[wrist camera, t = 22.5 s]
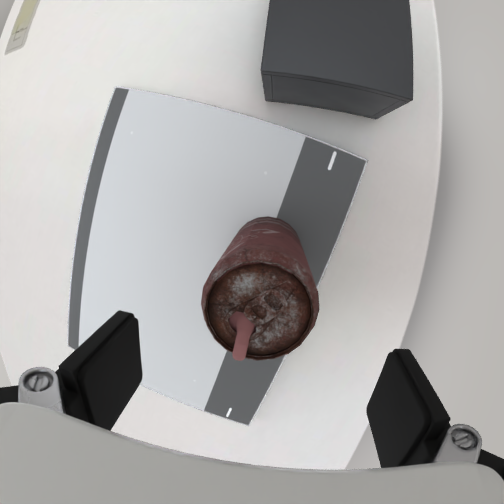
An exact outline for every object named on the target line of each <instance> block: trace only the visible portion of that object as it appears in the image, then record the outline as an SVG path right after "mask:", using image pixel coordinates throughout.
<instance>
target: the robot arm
mask: <svg viewBox="0 0 504 504" xmlns="http://www.w3.org/2000/svg"><path fill="white" fill-rule="evenodd" d="M142 377H143V373H142V363H141V351H140V338H139V323H138V319H137V318H135V316H134V314H133V313H129V312H125V311H121V310H119V311H117V312H116V313H115V314H114V315H113V316H112V317H111V318H109V319H108V320H107V321H106V322H105V323H104V324H103V325H102V326H101V327H100V328H98V329H97V330H96V331H95V332H94V333H93V334H92V335H91V336H90V337H89V338H88V339H87V340H86V341H84V342H83V343H82V344H81V345H80V346H79V347H78V348H77V349H76V350H75V351H74V352H73V353H72V354H71V355H70V356H69V357H68V358H66V359H65V360H64V361H63V362H62V363H61V364H60V365H59V369H58V370H57V371H56V372H54V371H53V370H51V369H49V368H45V367H35V368H31V369H29V370H27V371H25V372H24V373H23V374H22V375H21V377H20V379H19V385H18V386H11V387H2V388H0V504H504V459H502V458H500V457H497V456H496V455H493V454H491V453H489V452H487V451H484V450H482V449H481V446H482V439H481V436H480V434H479V433H478V431H476V430H475V429H474V428H473V427H470V426H469V425H465V424H456V425H453V426H452V427H451V426H450V424H449V421H450V417H449V415H448V414H447V412H446V410H445V408H444V406H443V404H442V403H441V401H440V399H439V397H438V396H437V394H436V392H435V391H434V389H433V387H432V385H431V384H430V382H429V380H428V379H427V377H426V375H425V374H424V372H423V370H422V369H421V367H420V366H419V364H418V362H417V361H416V359H415V358H414V356H413V355H412V353H411V351H410V350H409V349H394V350H393V352H390V353H389V354H388V356H387V359H386V361H385V364H384V366H383V369H382V372H381V374H380V377H379V379H378V382H377V384H376V386H375V389H374V391H373V394H372V396H371V398H370V401H369V403H368V405H367V416H368V420H369V423H370V427H371V430H372V434H373V438H374V441H375V445H376V449H377V453H378V457H379V461H380V465H381V468H373V469H352V470H316V469H294V468H280V467H269V466H260V465H251V464H244V463H237V462H230V461H224V460H219V459H213V458H208V457H203V456H198V455H193V454H189V453H184V452H180V451H176V450H172V449H168V448H164V447H160V446H157V445H153V444H150V443H146V442H143V441H140V440H136V439H133V438H130V437H127V436H124V435H121V434H118V433H115V432H112V431H110V430H111V429H112V427H113V426H114V424H115V422H116V421H117V419H118V418H119V416H120V415H121V413H122V411H123V410H124V408H125V407H126V405H127V404H128V402H129V400H130V399H131V397H132V396H133V394H134V393H135V391H136V389H137V388H138V386H139V385H140V383H141V381H142Z"/></svg>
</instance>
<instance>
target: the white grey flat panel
mask: <svg viewBox="0 0 504 504" xmlns="http://www.w3.org/2000/svg"><path fill="white" fill-rule="evenodd" d="M367 162H368V160H367V159H364V158H362V157H360V156H358V155H355V154H353V153H350V152H348V151H346V150H343V149H341V148H338V147H336V146H333V145H331V144H328V143H326V142H323V141H321V140H318V139H316V138H313V137H310V136H307V135H305V134H302V133H299V132H296V131H294V130H291V129H288V128H285V127H282V126H279V125H276V124H273V123H270V122H267V121H264V120H261V119H257V118H254V117H251V116H248V115H244V114H241V113H237V112H234V111H230V110H227V109H223V108H219V107H216V106H212V105H208V104H204V103H200V102H196V101H191V100H187V99H183V98H178V97H174V96H169V95H164V94H159V93H154V92H149V91H143V90H137V89H132V88H125V87H119V86H115V88H114V91H113V93H112V96H111V99H110V102H109V105H108V108H107V110H106V113H105V116H104V120H103V123H102V126H101V129H100V132H99V136H98V139H97V143H96V146H95V150H94V153H93V157H92V161H91V165H90V169H89V173H88V177H87V181H86V186H85V190H84V195H83V200H82V205H81V210H80V216H79V221H78V227H77V233H76V240H75V247H74V254H73V263H72V272H71V282H70V294H69V311H68V347H70V348H72V349H73V350H76V349H77V348H78V347H79V346H80V345H81V344H82V343H83V342H84V341H86V340H87V339H88V338H89V337H90V336H91V335H92V334H93V333H94V332H95V331H96V330H97V329H98V328H100V327H101V326H102V325H103V324H104V323H105V322H106V321H107V320H108V319H109V318H111V317H112V316H113V315H114V314H115V313H116V312H117V311H119V310H121V311H125V312H129V313H133V314H134V316H135V318H137V319H138V323H139V338H140V351H141V363H142V373H143V377H142V381H141V383H140V385H142V386H144V387H146V388H148V389H150V390H152V391H155V392H157V393H159V394H162V395H164V396H166V397H169V398H171V399H173V400H176V401H178V402H181V403H183V404H186V405H188V406H191V407H193V408H196V409H199V410H201V411H204V412H207V413H210V414H213V415H215V416H218V417H221V418H224V419H227V420H230V421H233V422H236V423H240V424H243V425H246V426H250V424H251V422H252V420H253V419H254V417H255V415H256V413H257V411H258V409H259V408H260V406H261V404H262V402H263V400H264V398H265V396H266V395H267V393H268V391H269V389H270V387H271V385H272V383H273V381H274V379H275V377H276V375H277V373H278V371H279V369H280V367H281V366H282V364H283V362H284V360H285V358H286V355H284V356H281V357H278V358H276V359H272V360H259V361H256V360H251V359H246V358H244V360H242V361H238V360H235V359H234V358H233V355H232V354H233V353H231V352H229V351H227V350H225V349H224V348H223V347H222V346H221V345H220V344H219V343H218V342H217V341H216V340H215V339H214V338H213V336H212V334H211V333H210V331H209V329H208V327H207V325H206V322H205V320H204V316H203V311H202V307H201V299H202V291H203V286H204V284H205V282H206V280H207V279H208V277H209V275H210V273H211V271H212V270H213V268H214V267H215V265H216V264H217V262H218V261H219V259H220V258H221V256H222V255H223V253H224V252H225V250H226V249H227V247H228V246H229V244H230V243H231V241H232V240H233V239H234V237H235V236H236V234H237V233H238V231H239V230H240V229H241V228H242V227H243V226H244V225H245V224H246V223H247V222H249V221H251V220H253V219H255V218H258V217H267V216H269V217H274V218H279V219H281V220H283V221H284V222H286V223H288V224H289V225H290V226H291V227H292V228H293V229H294V230H295V231H296V233H297V235H298V237H299V240H300V242H301V245H302V247H303V250H304V253H305V256H306V259H307V261H308V264H309V267H310V270H311V273H312V276H313V279H314V282H315V285H316V288H317V289H318V287H319V285H320V282H321V280H322V278H323V275H324V273H325V271H326V268H327V266H328V264H329V261H330V259H331V256H332V254H333V252H334V249H335V247H336V244H337V242H338V239H339V237H340V234H341V232H342V229H343V227H344V224H345V222H346V219H347V217H348V214H349V211H350V209H351V206H352V203H353V201H354V198H355V195H356V193H357V190H358V187H359V185H360V182H361V179H362V176H363V173H364V170H365V168H366V165H367Z"/></svg>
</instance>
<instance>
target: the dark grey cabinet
mask: <svg viewBox="0 0 504 504" xmlns="http://www.w3.org/2000/svg"><path fill="white" fill-rule="evenodd" d="M261 75H262V81H263V88H264V94H265V100H266V101H272V102H281V103H289V104H297V105H304V106H311V107H317V108H323V109H329V110H334V111H340V112H345V113H350V114H355V115H359V116H364V117H368V118H373V119H378V118H380V117H381V116H383V115H385V114H387V113H389V112H391V111H393V110H395V109H397V108H399V107H401V106H402V105H404V104H406V103H408V102H410V101H412V100H413V46H412V28H411V15H410V5H409V0H270V3H269V10H268V18H267V25H266V33H265V41H264V49H263V56H262V64H261Z"/></svg>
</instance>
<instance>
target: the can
mask: <svg viewBox="0 0 504 504" xmlns="http://www.w3.org/2000/svg"><path fill="white" fill-rule="evenodd" d="M201 307H202V311H203V316H204V320H205V322H206V325H207V327H208V329H209V331H210V333H211V334H212V336H213V338H214V339H215V340H216V341H217V342H218V343H219V344H220V345H221V346H222V347H223V348H224V349H225V350H227V351H229V352H231V353H233V354H232V355H233V358H234V359H235V360H238V361H242V360H244V358H246V359H251V360H256V361H259V360H272V359H276V358H278V357H281V356H284V355H287V354H289V353H290V352H291V351H293V350H294V349H296V348H297V347H298V346H300V345H301V344H302V342H303V341H304V340H305V338H306V337H307V336H308V334H309V333H310V331H311V330H312V329H313V327H314V326H315V322H316V319H317V315H318V312H319V298H318V291H317V288H316V285H315V282H314V279H313V276H312V273H311V270H310V267H309V264H308V261H307V259H306V256H305V253H304V250H303V247H302V245H301V242H300V240H299V237H298V235H297V233H296V231H295V230H294V229H293V228H292V227H291V226H290V225H289V224H288V223H286V222H284V221H283V220H281V219H279V218H274V217H269V216H267V217H258V218H255V219H253V220H251V221H249V222H247V223H246V224H245V225H244V226H243V227H242V228H241V229H240V230H239V231H238V233H237V234H236V236H235V237H234V239H233V240H232V241H231V243H230V244H229V246H228V247H227V249H226V250H225V252H224V253H223V255H222V256H221V258H220V259H219V261H218V262H217V264H216V265H215V267H214V268H213V270H212V271H211V273H210V275H209V277H208V279H207V280H206V282H205V284H204V286H203V291H202V299H201Z"/></svg>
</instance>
